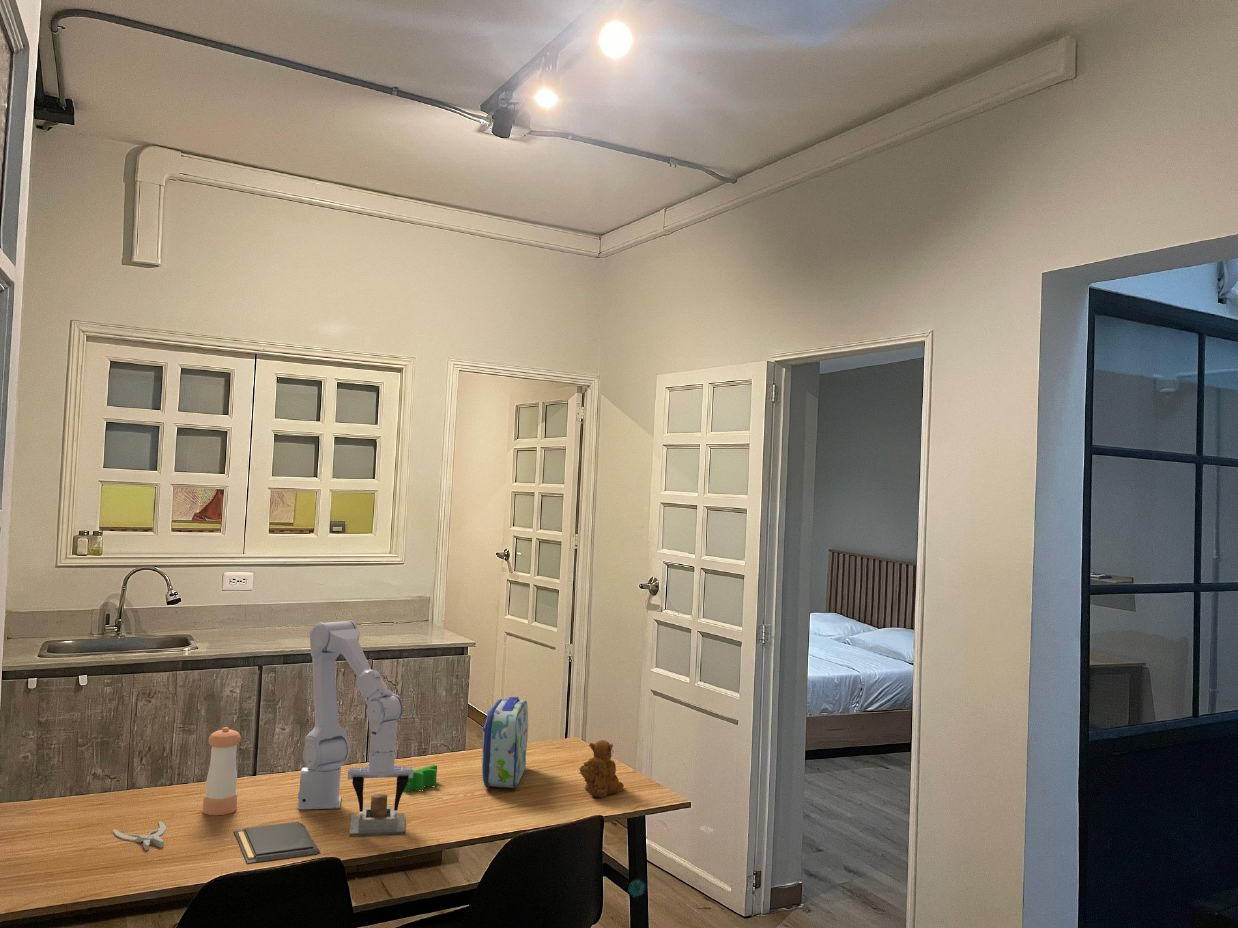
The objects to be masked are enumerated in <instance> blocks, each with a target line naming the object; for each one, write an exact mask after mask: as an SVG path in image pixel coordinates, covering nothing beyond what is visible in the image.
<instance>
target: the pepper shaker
mask: <svg viewBox="0 0 1238 928" xmlns="http://www.w3.org/2000/svg"><path fill="white" fill-rule="evenodd" d="M241 739H242V736H241V734H240V733H239V732H238V731H236V730H234V729H230V728H229V727H228V726H224V727H222V728H221V729H219V730H216V731H214V732H212V733H211V734H210V736H209V737H208V744H209V745H210V746H211V750H210V760H209V761H210V763H209V768H208V772H207V776H206V777H207V778H206V782H205V794H204V795H203V799H202V800H203V803H202V813H203V814H205V815H209V816H221V815H228V814H232V813H234V812H235V811H236V810H237V806H238V793H237V783H238V773H237V749H238V745H239V744H240V741H241Z"/></svg>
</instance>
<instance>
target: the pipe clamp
mask: <svg viewBox="0 0 1238 928" xmlns="http://www.w3.org/2000/svg"><path fill="white" fill-rule="evenodd" d="M437 773H438V765H435V764H433V765H432V764H431V765H429V766H426V767H422V768H419V769H416V770H415V769H414V771H413V778H408V783H407V786H406V787H405V789H404V791H405V792H404V791H403V792H404V793H407V792H409V791H408V790H410V791H412V789H413V790H415V789H417V790H416V791H418V790H421V791H420V792H423V791H424V788H425V787H424V786H435V787H436V784H437ZM422 790H423V791H422ZM406 791H407V792H406Z"/></svg>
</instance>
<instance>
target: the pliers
mask: <svg viewBox="0 0 1238 928" xmlns="http://www.w3.org/2000/svg"><path fill="white" fill-rule="evenodd" d="M157 824H158V826H159V828H157V829H154V830H152V831H150V832H149V833H148V834H147V835H146V834H134V833H133V834H124V833H122V832H121V831H119V830H118V829H117V828H116V829H114V828H113V835H114V836H115V837H116V836H117V837H116V838H118V839H120V838H121V839H120V840H123V841H127V840H129V841H128V842H134V843H135V842H137V843H139V842H140V843H142V846H143V848H144V850H145V851H149V850H150V845H154V846H156V847H158V848H161V849H162V848H164V847H165V840H163V839H162V837H161V836H163V835H164V834H165V832H166V827H167V826H166V824H165V823H164V822H163V821H157ZM131 836H132V837H131ZM133 836H134V837H133Z"/></svg>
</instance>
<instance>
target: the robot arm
mask: <svg viewBox="0 0 1238 928" xmlns="http://www.w3.org/2000/svg"><path fill="white" fill-rule="evenodd" d="M360 634H361V633H360V631H359V628H358V627H357V624H356V622H354V621H353V620H351V619H349V620H348V619H347V620H344V621H341V620H340V621H330V622H329V621H328V622H317V623H315V625H314V626H313V627H312V628H311V630H310V632H309V643H310V647H309V648H310V656H311V659H312V662H311V663H312V680H313V681H312V682H313V683H312V685H313V707H314V708H313V710H314V727H313V729H312V730H311V731H310V732H309V733H308V734H307V735H305V737H304V748H303V752H302V759H303V762H304V764H305V767H301V770H300V778H299V789H298V793H297V799H298V802H297V803H298V804H297V810H320V809H321V810H322V809H323V810H326V809H327V810H328V809H329V810H331V809H333V810H334V809H340V807H341V800H342V796H341V795H340V790H341V789H340V788H341V776H342V775H341V772H342V767H343V766H345V762H346V761H347V760H348V758H349V756H350V752H351V751H350V750H351V748H350V747H351V746H350V743H349V741H348V740H349V739H348V736H347V731H346V729H344V728H342V726H340V725H339V722H338V721H339V719H338V702H337V701H338V699H337V698H338V697H337V677H336V676H337V675H336V674H337V673H336V660H337V658H338V657H339V656H340V655H342V656H343V657H344V659H345V660H346V662H347V663H348V665H349V666H350V668H351V670H352V671H353V673H354V674H355V675H356V677H357V678H356V681H355V685H356V687H357V689H358V691H359V692H360V694H361V697H362V699H363V700H364V701H365V703H366V705H367V708H366V718H367V719H368V728H369V731H370V739H369V741H370V742H369V751H368V752H369V754H368V766H363V767H361V766H360V767H352V768H351V767H350V768H348V770H347V780H352V781H351V782H352V787H353V789H354V791H355V794H356V797H357V801H358V806H359V807H358V808H359V809H358V810H359V812H363V808H364V783H365V779H378V778H379V779H380V778H381V779H383V778H386V779H387V778H396V786H395V787H396V788H395V789H396V790H395V796H394V798H395V799H394V805H393V807H394V811H396V810H397V811H398V810H399V804H400V802H401V798H402V796H403V793H404V789H405V787H406V786H407V783H408V778H413V771H415V769H414V766H397V765H395V759H396V758H395V757H396V755H395V754H396V743H397V742H396V741H397V740H396V739H397V726H398V725H397V724H398V720H400V719H401V718H402V716H403V713H404V703H403V700H402V699H401V697H400V696H399V695H398V694H396V693H394V692H393V691H390V689H389V688H388V686H387V685H386V683H385V681H384V679H383V678H382V676H381V673H380V672H379V671H378V670H375V669H372V668H371V666H370V664H369V662H368V659H367V657H366V655H365V653H364V651H363V648H362V646H361V644H360V642H359V641H360V637H361V636H360Z"/></svg>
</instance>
